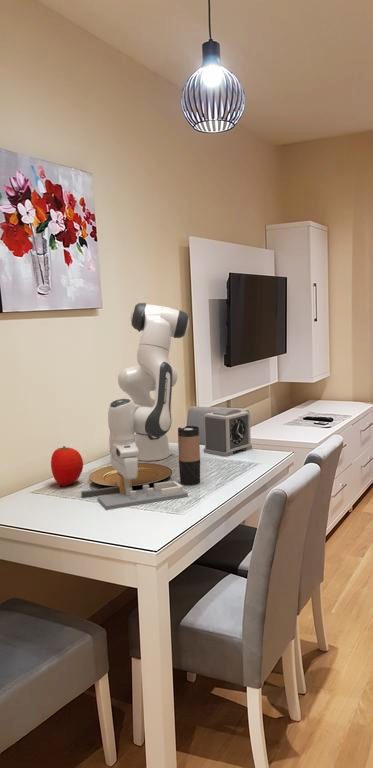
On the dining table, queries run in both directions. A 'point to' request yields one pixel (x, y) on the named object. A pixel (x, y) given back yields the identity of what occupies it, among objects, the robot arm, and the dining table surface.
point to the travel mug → (189, 455)
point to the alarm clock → (227, 431)
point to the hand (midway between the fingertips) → (124, 485)
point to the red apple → (66, 465)
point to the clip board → (143, 495)
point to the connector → (107, 489)
